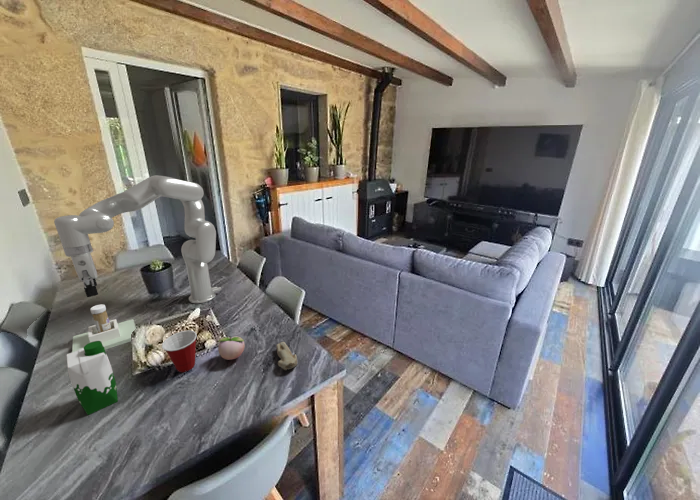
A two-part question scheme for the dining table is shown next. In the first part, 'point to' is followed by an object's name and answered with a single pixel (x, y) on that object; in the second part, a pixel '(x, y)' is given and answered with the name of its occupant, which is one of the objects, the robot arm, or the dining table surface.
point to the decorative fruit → (231, 347)
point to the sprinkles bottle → (100, 318)
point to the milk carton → (92, 377)
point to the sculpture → (286, 356)
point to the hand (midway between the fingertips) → (92, 291)
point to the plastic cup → (181, 349)
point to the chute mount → (106, 335)
